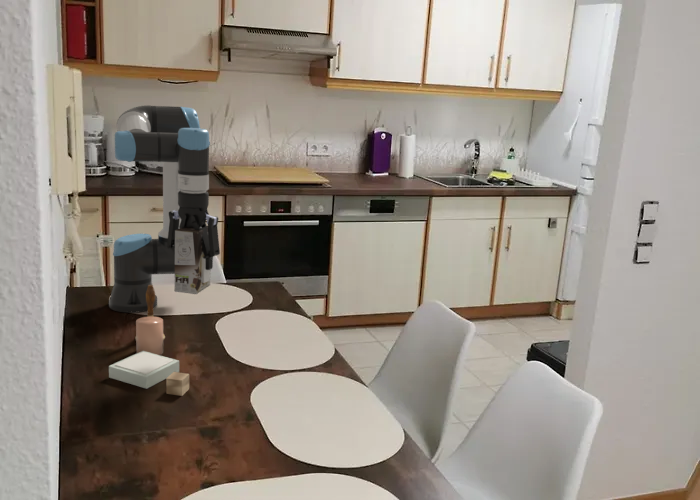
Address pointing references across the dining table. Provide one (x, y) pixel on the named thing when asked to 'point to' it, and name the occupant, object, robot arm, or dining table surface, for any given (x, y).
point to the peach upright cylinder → (149, 335)
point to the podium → (143, 369)
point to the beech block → (177, 383)
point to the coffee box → (189, 261)
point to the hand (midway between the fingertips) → (192, 278)
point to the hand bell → (150, 302)
